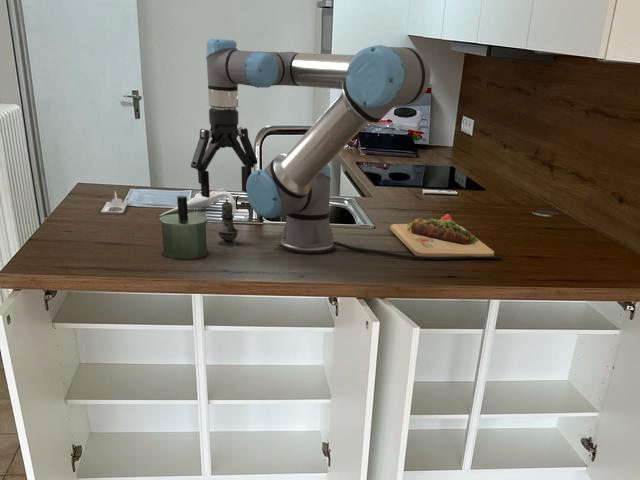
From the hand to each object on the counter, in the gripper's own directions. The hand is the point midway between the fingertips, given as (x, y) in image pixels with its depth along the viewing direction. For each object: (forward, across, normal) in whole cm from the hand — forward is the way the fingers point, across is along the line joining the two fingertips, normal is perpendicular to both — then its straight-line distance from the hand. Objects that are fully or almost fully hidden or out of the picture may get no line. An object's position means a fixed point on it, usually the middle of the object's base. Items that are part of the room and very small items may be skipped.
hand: (226, 194), depth 204 cm
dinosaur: (+14, -17, -36) cm, 42 cm away
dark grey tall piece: (+13, 0, 0) cm, 13 cm away
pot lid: (+5, +16, +3) cm, 17 cm away
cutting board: (+13, -53, +34) cm, 64 cm away
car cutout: (+14, +4, -55) cm, 57 cm away
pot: (+13, +16, +3) cm, 21 cm away
